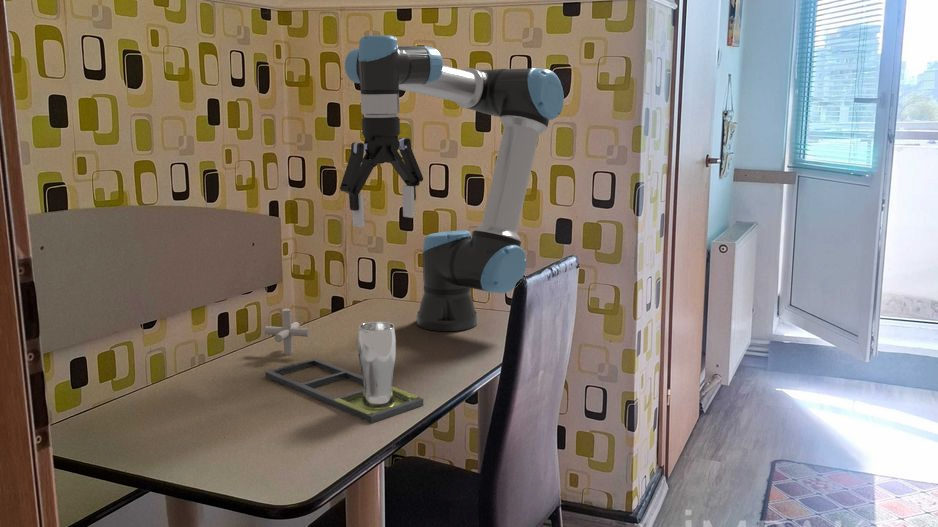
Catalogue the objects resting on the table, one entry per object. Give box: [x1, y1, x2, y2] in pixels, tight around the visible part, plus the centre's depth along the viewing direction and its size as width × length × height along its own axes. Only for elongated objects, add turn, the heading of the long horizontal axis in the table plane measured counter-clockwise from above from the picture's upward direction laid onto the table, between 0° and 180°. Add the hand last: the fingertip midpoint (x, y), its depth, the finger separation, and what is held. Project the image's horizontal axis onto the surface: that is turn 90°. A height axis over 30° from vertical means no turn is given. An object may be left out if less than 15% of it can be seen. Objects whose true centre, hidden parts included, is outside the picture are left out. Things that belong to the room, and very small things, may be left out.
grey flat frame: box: [264, 358, 424, 424], centre depth 167 cm, size 12×34×1 cm, turn 45°
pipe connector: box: [263, 308, 311, 356], centre depth 189 cm, size 10×10×10 cm
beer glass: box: [357, 320, 397, 410], centre depth 158 cm, size 7×7×15 cm
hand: (384, 221), depth 175 cm, fingers open, 13 cm apart
